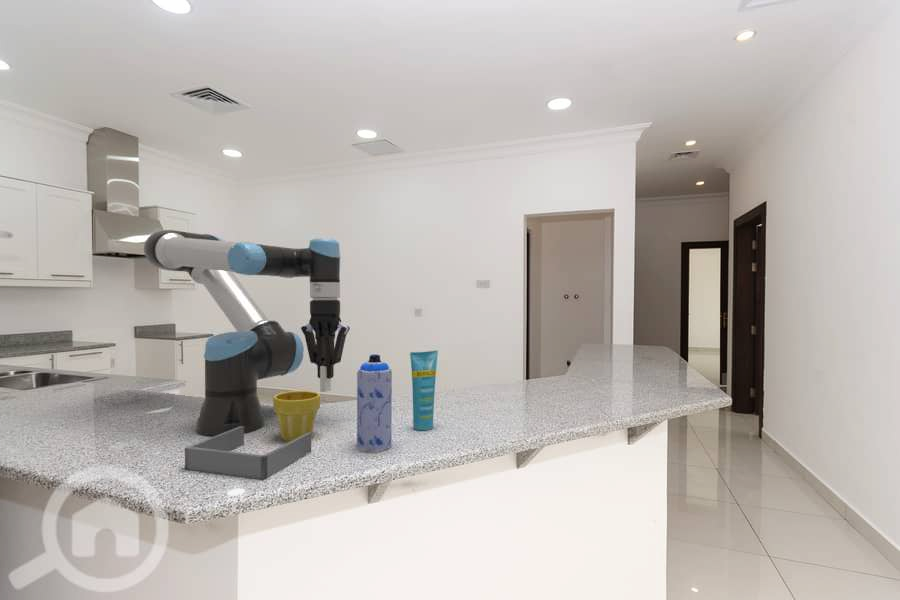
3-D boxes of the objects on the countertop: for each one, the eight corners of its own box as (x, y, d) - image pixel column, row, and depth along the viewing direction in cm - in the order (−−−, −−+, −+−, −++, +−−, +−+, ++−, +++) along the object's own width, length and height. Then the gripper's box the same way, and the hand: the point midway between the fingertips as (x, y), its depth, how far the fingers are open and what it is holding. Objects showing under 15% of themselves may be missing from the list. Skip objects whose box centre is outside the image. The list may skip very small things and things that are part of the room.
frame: (184, 468, 86) (184, 447, 86) (240, 443, 101) (241, 425, 101) (264, 479, 81) (264, 457, 81) (311, 451, 96) (311, 432, 96)
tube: (415, 432, 110) (415, 353, 109) (405, 427, 114) (406, 350, 113) (441, 427, 114) (441, 351, 113) (431, 423, 118) (431, 349, 118)
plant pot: (328, 436, 106) (328, 395, 106) (285, 447, 99) (286, 402, 99) (306, 427, 113) (306, 388, 113) (265, 436, 106) (265, 394, 106)
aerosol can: (398, 447, 99) (399, 355, 99) (365, 455, 94) (365, 358, 94) (382, 438, 105) (382, 351, 105) (350, 444, 101) (350, 354, 100)
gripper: (294, 299, 115) (294, 392, 115) (340, 299, 112) (341, 395, 112) (310, 299, 122) (311, 386, 123) (354, 299, 119) (355, 389, 119)
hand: (325, 390), depth 117 cm, fingers closed
